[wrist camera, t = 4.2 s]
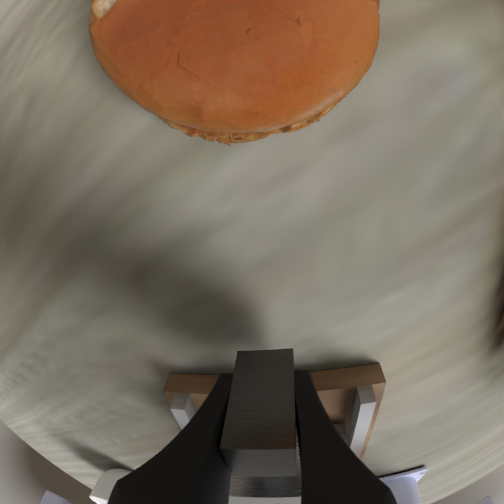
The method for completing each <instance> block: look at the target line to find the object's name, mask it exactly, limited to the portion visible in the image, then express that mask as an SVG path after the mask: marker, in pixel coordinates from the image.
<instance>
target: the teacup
mask: <svg viewBox="0 0 504 504" xmlns="http://www.w3.org/2000/svg"><path fill="white" fill-rule="evenodd" d="M131 472H132V471H130V470H126V469H121V468H117V469H110V470H108V471H106V472H105V473H103V474H102V476H101V477H100V478H99V480H98V481H97V483H96V485H95V487H94V489H93V491H92V492H91V494H90V498H91V499H92V500H93V501H94V502H96V503H97V504H107V503H108V500H109V497H110V494H111V492H112V489H113V487H114V485H115V484H116V481H117V480H118V479H120V478H122V477H124V476H126V475H127V474H129V473H131Z"/></svg>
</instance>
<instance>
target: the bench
mask: <svg viewBox="0 0 504 504" xmlns="http://www.w3.org/2000/svg"><path fill="white" fill-rule="evenodd" d="M310 372H311V376H312V380H313V383H314V386H315V389H316V391H317V393H318V396H319V398H320V400H321V402H322V404H323V406H324V408H325V410H326V412H327V414H328V416H329V418H330V419H331V421H332V423H333V424H342V423H345V426H346V433H347V440H348V446H349V447H350V449H351V450H352V451H353V452H354V453H355V454H356V456H357V457H358V458H359V459H360V460H361V459H362V457H363V454H364V452H365V449H366V446H367V443H368V440H369V438H370V435H371V432H372V429H373V426H374V422H375V419H376V416H377V413H378V410H379V406H380V403H381V399H382V396H383V392H384V388H385V385H386V380H385V377H384V374H383V371H382V368H381V366H380V363H378V364H372V365H365V366H357V367H349V368H341V369H332V370H321V371H310ZM218 377H219V375H200V374H175V373H170V375H169V377H168V380H167V382H166V385H165V387H164V390H163V393H164V395H165V397H166V399H167V401H168V403H169V405H170V407H171V408H170V409H171V411H172V413H173V415H174V417H175V419H176V421H177V423H178V425H179V426H180V428H181V430H182V429H183V428H184V427H185V426H186V425H187V423H188V422H189V421H190V420H191V418H192V417H193V416H194V415H195V413H196V412H197V411H198V409H199V408H200V406H201V405H202V403H203V402H204V400H205V399H206V397H207V396H208V394H209V393H210V391H211V389H212V388H213V386H214V384H215V383H216V381H217V379H218Z"/></svg>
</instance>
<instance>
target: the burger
mask: <svg viewBox="0 0 504 504" xmlns="http://www.w3.org/2000/svg"><path fill="white" fill-rule="evenodd" d="M379 4H380V3H379V0H93V4H92V7H91V15H90V24H89V32H90V37H91V41H92V46H93V50H94V54H95V56H96V59H97V60H98V62H99V64H100V65H101V67H102V69H103V70H104V71H105V72H106V74H107V75H108V76H109V77H110V79H111V80H112V81H113V82H114V84H115V85H116V86H117V87H118V88H119V89H120V90H121V91H122V92H123V93H124V94H125V95H126V96H127V97H129V98H130V99H132V100H133V101H135V102H136V103H137V104H139V105H140V106H141V107H143V108H144V109H146V110H147V111H149V112H152V113H154V114H155V115H157V116H158V117H159V118H161V119H163V120H164V122H166V123H167V124H168V125H169V126H171V127H172V128H175V129H177V130H181V131H182V132H184V133H185V134H187V135H189V136H191V137H197V136H200V137H201V138H203V139H205V140H206V139H208V141H215V140H217V141H219V143H225V144H227V145H230V142H233V143H241V142H250V141H255V140H258V139H262V138H265V137H267V136H269V135H270V134H275V133H281V132H284V133H285V132H293V131H296V130H299V129H302V128H304V127H306V126H308V125H310V124H311V123H313V122H316V121H319V119H320V118H321V117H323V116H325V115H326V114H327V113H328V112H329V111H330V110H331V109H333V108H334V107H335V106H336V105H337V104H338V103H339V102H340V101H341V100H342V99H343V98H344V97H345V96H346V95H347V94H348V93H349V92H350V91H351V90H353V89H354V88H355V87H356V86H357V84H358V83H359V81H360V80H361V79H362V77H363V76H364V75H365V73H366V72H367V71H368V69H369V68H370V66H371V64H372V61H373V58H374V55H375V52H376V49H377V45H378V40H379V13H378V9H379Z"/></svg>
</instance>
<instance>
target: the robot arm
mask: <svg viewBox="0 0 504 504" xmlns="http://www.w3.org/2000/svg"><path fill="white" fill-rule="evenodd" d="M232 379H233V374H220V375H219V377H218V379H217V381H216V383H215V384H214V386H213V388H212V389H211V391H210V393H209V394H208V396H207V397H206V399H205V400H204V402H203V403H202V405H201V406H200V408H199V409H198V411H197V412H196V413H195V415H194V416H193V417H192V418H191V420H190V421H189V422H188V423H187V425H186V426H185V427H184V428H183V429H182V431H181V432H180V433H179V434H178V435H177V436H176V437H175V438H174V439H173V440H172V441H171V442H170V443H169V444H168V445H167V446H166V447H165V448H163V449H162V450H161V451H160V452H159V453H158V454H157V455H155V456H154V457H153V458H151V459H150V460H149V461H147V462H146V463H145V464H143V465H142V466H140V467H139V468H137V469H136V470H134V471H132V472H131V473H129V474H127V475H126V476H124V477H122V478H120V479H118V480H117V481H116V484H115V485H114V487H113V489H112V492H111V494H110V497H109V500H108V503H107V504H228V503H229V490H230V479H231V472H230V469H229V467H228V465H227V463H226V461H225V459H224V457H223V455H222V452H221V450H220V444H221V439H222V434H223V428H224V423H225V417H226V412H227V406H228V401H229V396H230V390H231V385H232ZM294 390H295V414H296V431H297V439H298V447H299V456H300V465H301V504H421V500H420V495H419V491H418V486H417V482H418V481H419V479H420V478H421V477H422V476H423V475H424V473H425V472H426V471H427V467H422V468H418V469H415V470H411V471H407V472H404V473H400V474H395V475H391V476H387V477H382V478H378V477H377V476H376V475H374V474H373V473H372V472H371V471H370V470H369V469H368V468H367V467H366V466H365V465H364V463H363V462H362V461H361V460H360V459H359V458H358V457H357V456H356V454H355V453H354V452H353V451H352V450H351V449H350V447H349V446H348V445H347V443H346V442H345V441H344V439H343V438H342V436H341V435H340V434H339V432H338V431H337V429H336V427H335V426H334V424H333V423H332V421H331V419H330V418H329V416H328V414H327V412H326V410H325V408H324V406H323V404H322V402H321V400H320V398H319V396H318V393H317V391H316V389H315V386H314V383H313V380H312V376H311V372H310V371H308V370H305V371H294ZM40 504H72V503H70V502H69V501H67V500H65V499H63V498H61V497H60V496H58V495H55V494H54V493H52V492H50V491H46V492H45V495H44V496H43V499H42V501H41V503H40ZM474 504H493V503H492V499H491V497H490V496H488V497H486V498H484V499H482V500H480V501H478V502H476V503H474Z"/></svg>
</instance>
